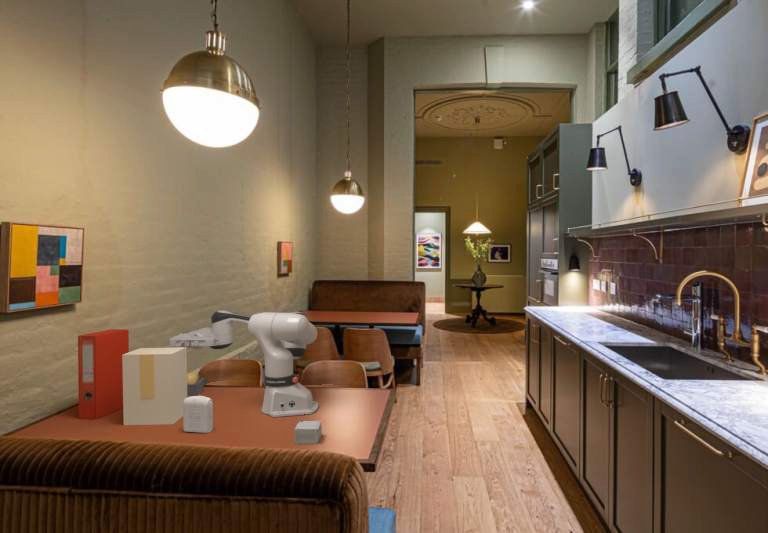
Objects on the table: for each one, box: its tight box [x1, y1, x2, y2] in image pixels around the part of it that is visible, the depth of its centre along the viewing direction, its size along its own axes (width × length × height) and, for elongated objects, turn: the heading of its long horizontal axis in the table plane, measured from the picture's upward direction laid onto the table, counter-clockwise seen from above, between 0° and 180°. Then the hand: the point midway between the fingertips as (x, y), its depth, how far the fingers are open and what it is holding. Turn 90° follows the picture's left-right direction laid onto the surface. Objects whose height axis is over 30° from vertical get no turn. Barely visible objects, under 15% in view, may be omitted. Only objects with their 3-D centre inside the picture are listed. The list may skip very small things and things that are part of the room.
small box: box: [293, 420, 322, 445], centre depth 152 cm, size 8×8×5 cm
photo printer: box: [182, 395, 214, 434], centre depth 161 cm, size 10×4×12 cm, turn 81°
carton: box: [122, 347, 188, 426], centre depth 174 cm, size 18×13×26 cm
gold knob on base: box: [187, 371, 208, 396], centre depth 214 cm, size 21×8×10 cm, turn 3°
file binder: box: [77, 328, 130, 421], centre depth 183 cm, size 8×17×32 cm, turn 170°
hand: (186, 344), depth 203 cm, fingers open, 3 cm apart
